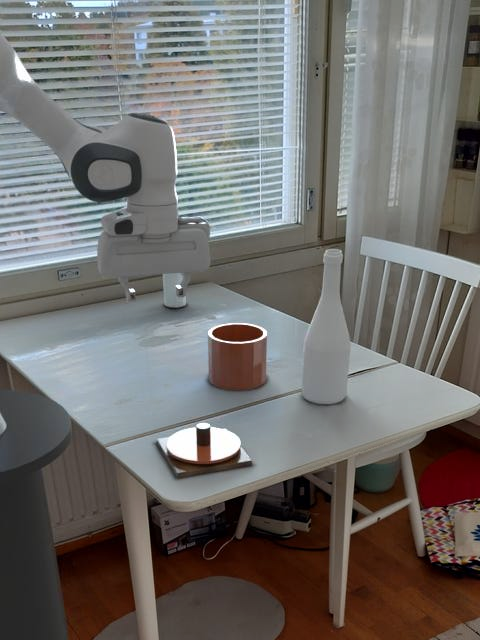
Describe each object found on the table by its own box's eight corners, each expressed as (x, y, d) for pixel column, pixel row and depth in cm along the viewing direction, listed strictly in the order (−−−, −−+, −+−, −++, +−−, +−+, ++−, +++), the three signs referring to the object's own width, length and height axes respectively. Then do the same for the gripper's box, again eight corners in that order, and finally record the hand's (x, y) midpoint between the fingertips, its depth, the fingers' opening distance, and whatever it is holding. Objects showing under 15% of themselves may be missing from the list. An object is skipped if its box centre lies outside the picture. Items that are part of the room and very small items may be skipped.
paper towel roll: (177, 309, 213) (174, 227, 201) (159, 305, 216) (155, 224, 204) (192, 302, 218) (190, 222, 206) (175, 299, 221) (172, 219, 209)
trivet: (177, 478, 137) (177, 473, 136) (156, 443, 148) (156, 438, 147) (252, 465, 141) (252, 460, 140) (226, 432, 152) (226, 427, 151)
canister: (219, 393, 167) (219, 346, 161) (201, 372, 177) (200, 326, 171) (274, 385, 171) (275, 339, 165) (253, 365, 180) (254, 320, 174)
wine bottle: (304, 385, 171) (312, 243, 154) (348, 389, 169) (360, 246, 152) (297, 403, 163) (305, 255, 146) (343, 407, 161) (356, 258, 145)
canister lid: (178, 472, 136) (177, 448, 134) (157, 438, 147) (156, 415, 145) (251, 459, 140) (252, 436, 138) (226, 427, 151) (226, 405, 149)
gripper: (204, 212, 142) (205, 289, 149) (92, 218, 136) (98, 297, 143) (215, 219, 137) (215, 298, 144) (98, 226, 131) (105, 308, 138)
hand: (156, 298), depth 144 cm, fingers open, 8 cm apart
